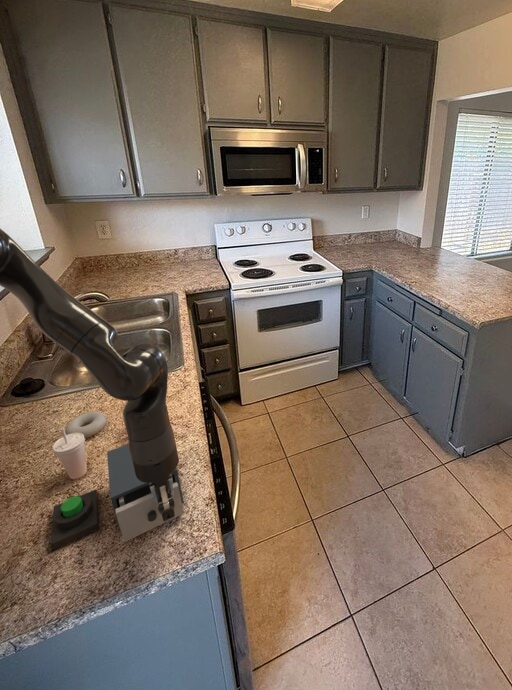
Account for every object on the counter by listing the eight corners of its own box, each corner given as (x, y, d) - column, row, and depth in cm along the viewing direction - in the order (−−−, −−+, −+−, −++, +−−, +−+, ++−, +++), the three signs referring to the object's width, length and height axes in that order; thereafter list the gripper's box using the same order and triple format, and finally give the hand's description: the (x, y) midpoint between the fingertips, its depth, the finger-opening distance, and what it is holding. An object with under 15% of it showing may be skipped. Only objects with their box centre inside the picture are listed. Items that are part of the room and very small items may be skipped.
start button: (83, 511, 75) (81, 505, 74) (62, 520, 73) (60, 514, 73) (83, 499, 78) (81, 493, 77) (63, 507, 76) (61, 501, 75)
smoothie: (57, 485, 85) (40, 438, 80) (70, 464, 91) (56, 419, 86) (86, 481, 86) (71, 434, 81) (97, 461, 92) (84, 416, 87)
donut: (72, 448, 97) (112, 428, 103) (68, 438, 95) (109, 419, 102) (63, 431, 103) (101, 413, 110) (59, 421, 102) (98, 404, 109)
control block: (99, 529, 74) (95, 517, 73) (52, 550, 70) (47, 538, 69) (98, 494, 82) (94, 483, 81) (55, 512, 78) (51, 500, 77)
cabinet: (183, 502, 80) (177, 469, 77) (120, 532, 74) (110, 498, 71) (171, 460, 92) (165, 430, 88) (115, 483, 85) (107, 451, 82)
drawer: (185, 517, 76) (179, 490, 73) (124, 547, 70) (116, 518, 67) (171, 471, 87) (166, 445, 85) (119, 493, 82) (111, 466, 79)
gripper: (127, 434, 69) (144, 501, 75) (134, 482, 59) (153, 555, 64) (168, 420, 73) (181, 484, 79) (182, 462, 62) (195, 533, 68)
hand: (168, 516), depth 72 cm, fingers closed
